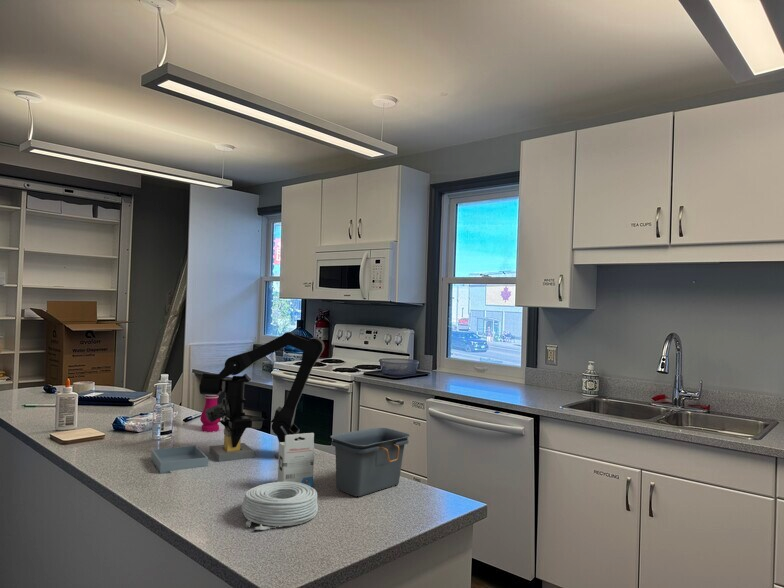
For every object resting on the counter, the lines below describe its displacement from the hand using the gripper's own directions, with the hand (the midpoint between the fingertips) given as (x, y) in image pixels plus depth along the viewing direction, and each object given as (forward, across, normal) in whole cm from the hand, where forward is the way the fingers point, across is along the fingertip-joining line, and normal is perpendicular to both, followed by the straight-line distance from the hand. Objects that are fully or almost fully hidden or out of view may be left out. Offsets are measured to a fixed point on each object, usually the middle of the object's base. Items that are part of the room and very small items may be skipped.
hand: (232, 445), depth 176 cm
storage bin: (+4, +44, +25) cm, 51 cm away
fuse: (+3, 0, 0) cm, 3 cm away
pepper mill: (+4, -37, +3) cm, 37 cm away
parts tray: (+4, +1, -16) cm, 16 cm away
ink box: (+4, +34, +7) cm, 35 cm away
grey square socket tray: (+4, 0, 0) cm, 4 cm away
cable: (+4, +50, -4) cm, 51 cm away
